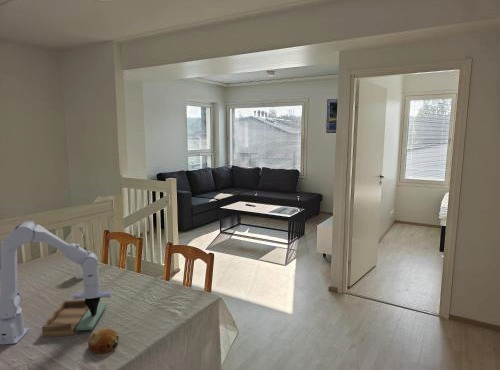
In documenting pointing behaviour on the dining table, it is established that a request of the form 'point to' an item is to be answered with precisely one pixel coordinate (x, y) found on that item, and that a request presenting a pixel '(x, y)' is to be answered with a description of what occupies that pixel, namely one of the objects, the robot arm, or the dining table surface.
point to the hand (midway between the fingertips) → (94, 314)
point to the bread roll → (103, 340)
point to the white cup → (77, 270)
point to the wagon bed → (65, 319)
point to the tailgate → (91, 318)
